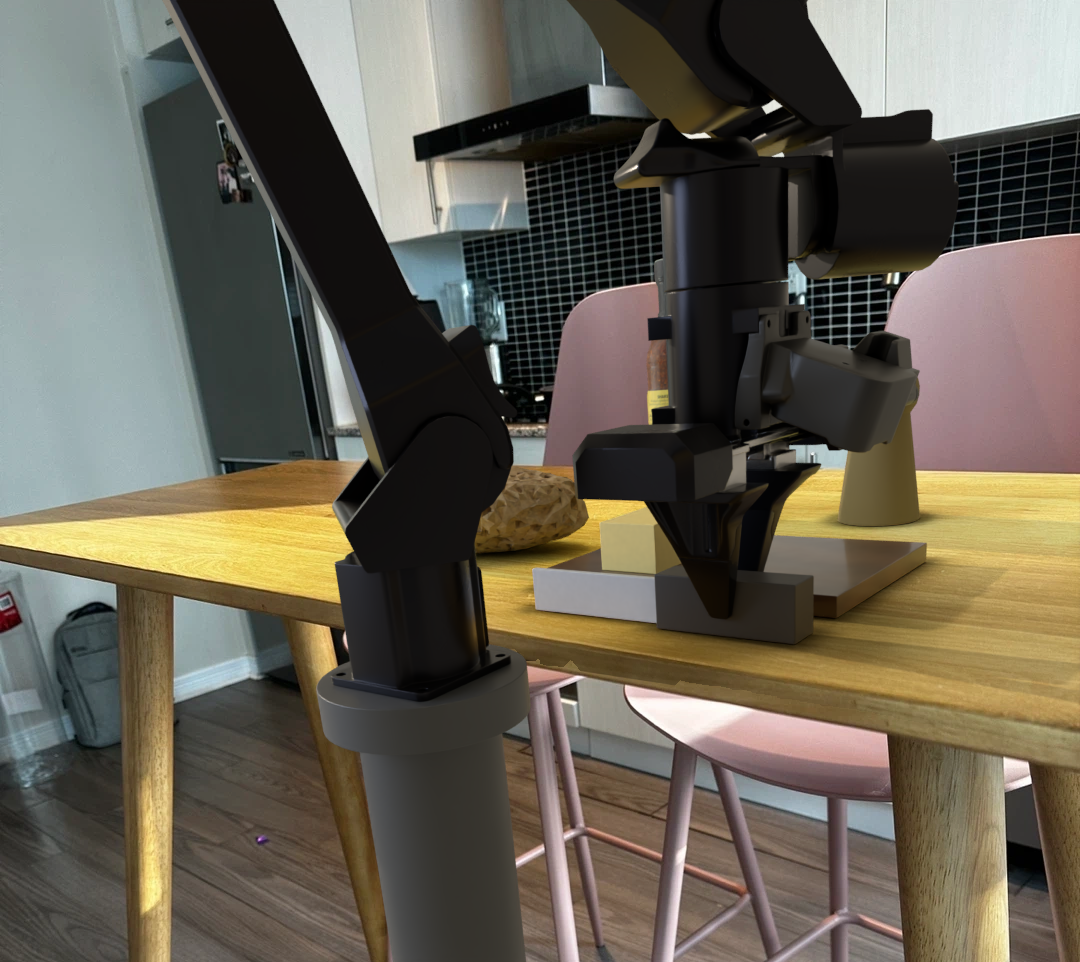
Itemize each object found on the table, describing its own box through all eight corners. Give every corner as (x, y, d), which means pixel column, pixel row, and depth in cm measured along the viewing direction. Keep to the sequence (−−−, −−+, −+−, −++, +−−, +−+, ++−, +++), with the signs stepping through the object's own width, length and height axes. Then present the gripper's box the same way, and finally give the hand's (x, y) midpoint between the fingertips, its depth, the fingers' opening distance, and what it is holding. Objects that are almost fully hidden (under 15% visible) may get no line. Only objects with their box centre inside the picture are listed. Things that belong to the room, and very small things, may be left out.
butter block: (656, 574, 62) (654, 524, 61) (601, 570, 64) (598, 522, 63) (701, 555, 66) (700, 508, 65) (648, 551, 68) (646, 506, 67)
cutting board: (836, 618, 54) (837, 596, 54) (538, 589, 66) (537, 571, 66) (926, 561, 64) (927, 542, 64) (654, 545, 76) (653, 529, 76)
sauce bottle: (736, 525, 81) (731, 249, 74) (657, 531, 81) (644, 257, 74) (723, 511, 87) (717, 255, 80) (649, 518, 87) (637, 263, 80)
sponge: (338, 567, 85) (456, 541, 68) (332, 470, 84) (450, 421, 68) (475, 566, 92) (612, 543, 76) (470, 478, 91) (608, 435, 75)
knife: (795, 644, 51) (795, 585, 49) (526, 613, 61) (521, 563, 60) (813, 633, 52) (814, 575, 51) (548, 604, 62) (544, 555, 61)
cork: (933, 513, 78) (941, 361, 75) (898, 528, 74) (904, 368, 71) (859, 509, 82) (863, 365, 79) (822, 523, 78) (824, 372, 75)
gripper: (803, 271, 36) (801, 687, 42) (966, 267, 50) (948, 582, 55) (553, 300, 43) (579, 655, 48) (756, 289, 56) (759, 568, 62)
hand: (732, 612), depth 53 cm, fingers closed on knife, 2 cm apart
